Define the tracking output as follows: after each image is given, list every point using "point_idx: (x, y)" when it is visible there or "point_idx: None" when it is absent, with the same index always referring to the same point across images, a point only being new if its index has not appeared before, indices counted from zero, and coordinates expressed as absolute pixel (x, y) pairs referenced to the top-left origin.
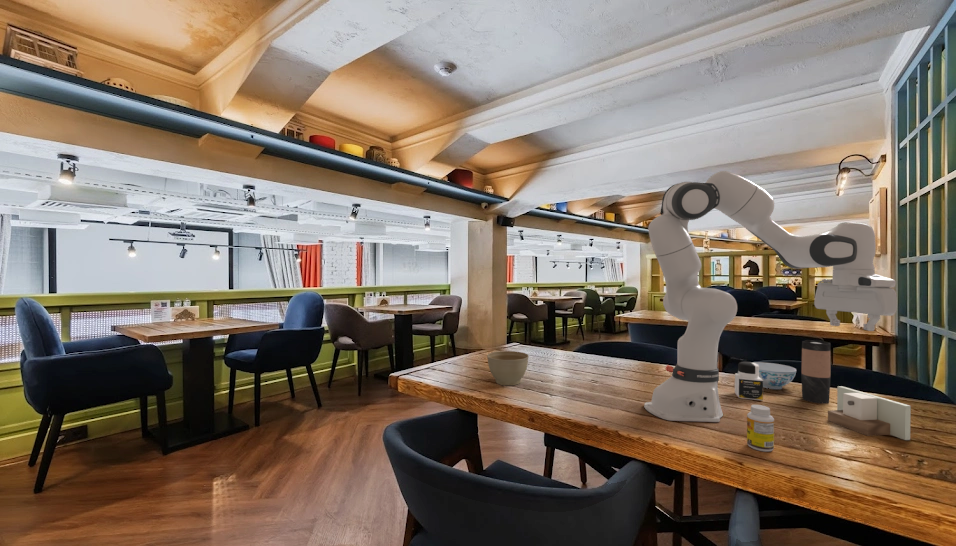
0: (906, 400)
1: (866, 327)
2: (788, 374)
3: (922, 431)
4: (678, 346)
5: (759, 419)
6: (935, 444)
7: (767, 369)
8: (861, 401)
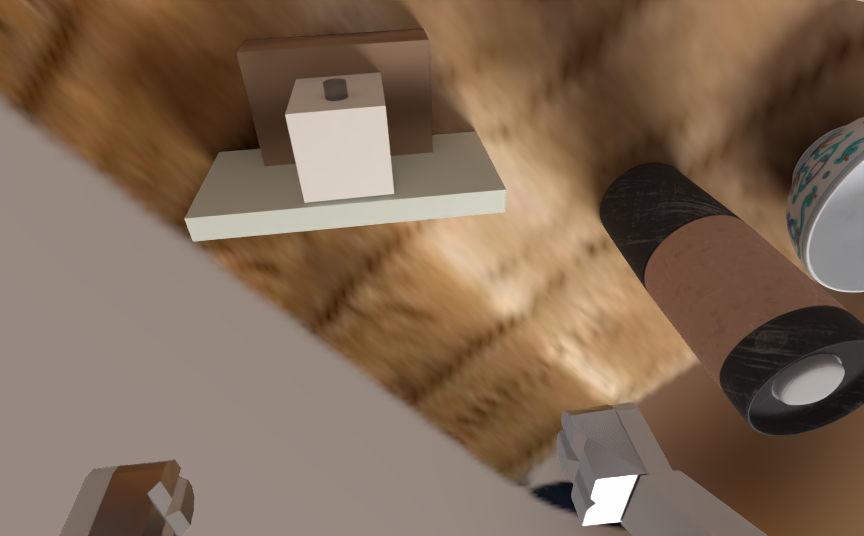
0: (557, 436)
1: (108, 496)
2: (806, 213)
3: (315, 277)
4: None
5: None
6: None
7: None
8: (288, 109)
